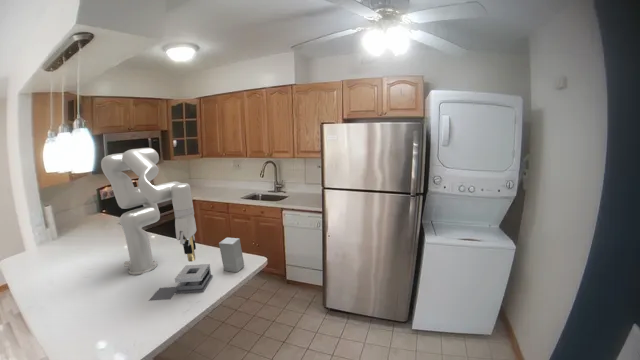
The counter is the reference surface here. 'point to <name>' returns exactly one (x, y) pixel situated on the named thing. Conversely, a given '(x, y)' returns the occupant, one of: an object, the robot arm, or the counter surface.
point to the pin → (192, 256)
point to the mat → (164, 293)
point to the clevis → (193, 279)
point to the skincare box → (231, 254)
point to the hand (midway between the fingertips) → (190, 251)
